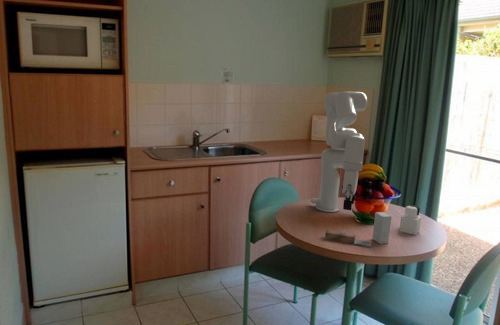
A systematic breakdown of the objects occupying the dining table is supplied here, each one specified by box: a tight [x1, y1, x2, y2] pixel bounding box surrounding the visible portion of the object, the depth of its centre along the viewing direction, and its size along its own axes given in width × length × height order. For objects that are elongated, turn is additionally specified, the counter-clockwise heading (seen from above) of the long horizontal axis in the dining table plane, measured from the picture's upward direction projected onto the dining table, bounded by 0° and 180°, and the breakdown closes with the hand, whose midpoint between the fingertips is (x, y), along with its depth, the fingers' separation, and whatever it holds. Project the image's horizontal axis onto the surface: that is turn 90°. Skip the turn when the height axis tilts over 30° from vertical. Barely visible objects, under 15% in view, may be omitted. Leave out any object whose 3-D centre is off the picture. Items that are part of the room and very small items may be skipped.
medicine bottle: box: [399, 204, 422, 236], centre depth 193 cm, size 7×7×12 cm
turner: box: [324, 230, 373, 249], centre depth 178 cm, size 19×5×3 cm, turn 71°
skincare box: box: [372, 211, 392, 245], centre depth 179 cm, size 6×4×12 cm
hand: (348, 206), depth 175 cm, fingers open, 9 cm apart
